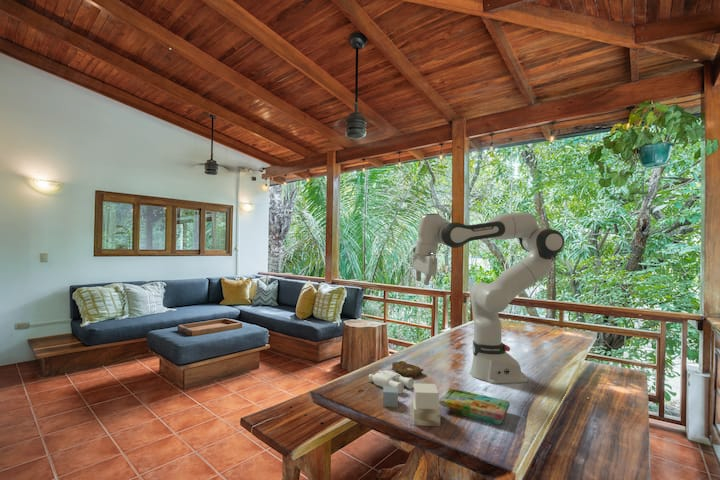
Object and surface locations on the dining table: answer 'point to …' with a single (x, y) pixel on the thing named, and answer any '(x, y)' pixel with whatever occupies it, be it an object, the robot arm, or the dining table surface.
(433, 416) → the birch slab
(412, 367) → the decorative rock
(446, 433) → the dining table surface
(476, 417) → the puzzle game
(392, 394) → the grey cube
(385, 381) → the binoculars
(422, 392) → the white block
